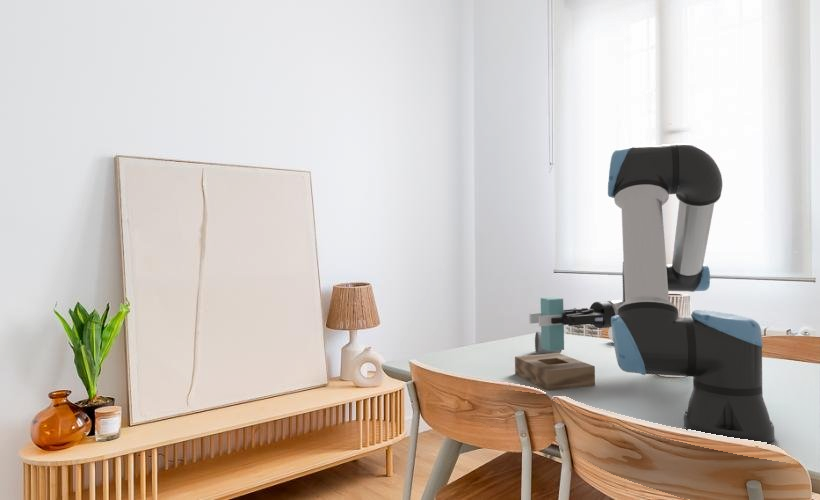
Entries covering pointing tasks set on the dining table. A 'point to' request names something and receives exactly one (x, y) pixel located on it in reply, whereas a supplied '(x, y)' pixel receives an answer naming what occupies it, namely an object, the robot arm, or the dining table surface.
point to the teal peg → (552, 334)
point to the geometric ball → (610, 333)
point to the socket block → (555, 371)
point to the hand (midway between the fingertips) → (534, 319)
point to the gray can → (539, 345)
